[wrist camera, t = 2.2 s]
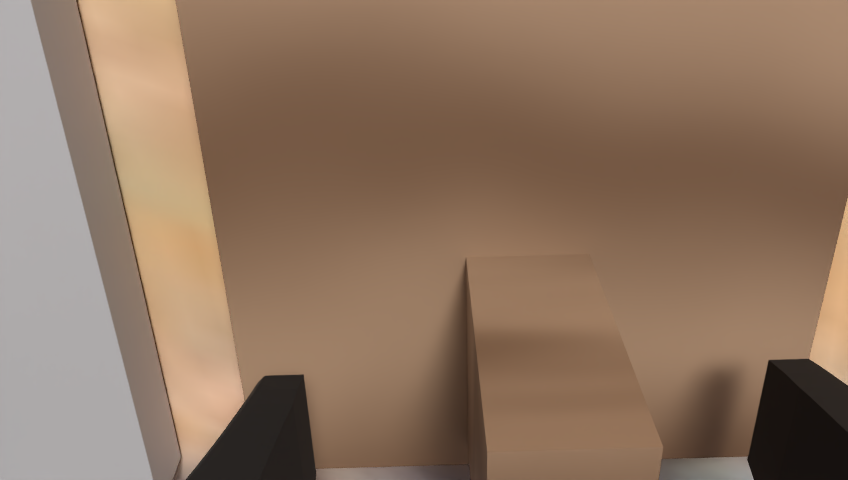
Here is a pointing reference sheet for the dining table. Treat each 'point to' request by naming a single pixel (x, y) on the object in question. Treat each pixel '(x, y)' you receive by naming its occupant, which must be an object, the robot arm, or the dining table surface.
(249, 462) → the robot arm
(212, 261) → the dining table surface
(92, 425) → the slate strip
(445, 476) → the dining table surface
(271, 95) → the walnut strip
